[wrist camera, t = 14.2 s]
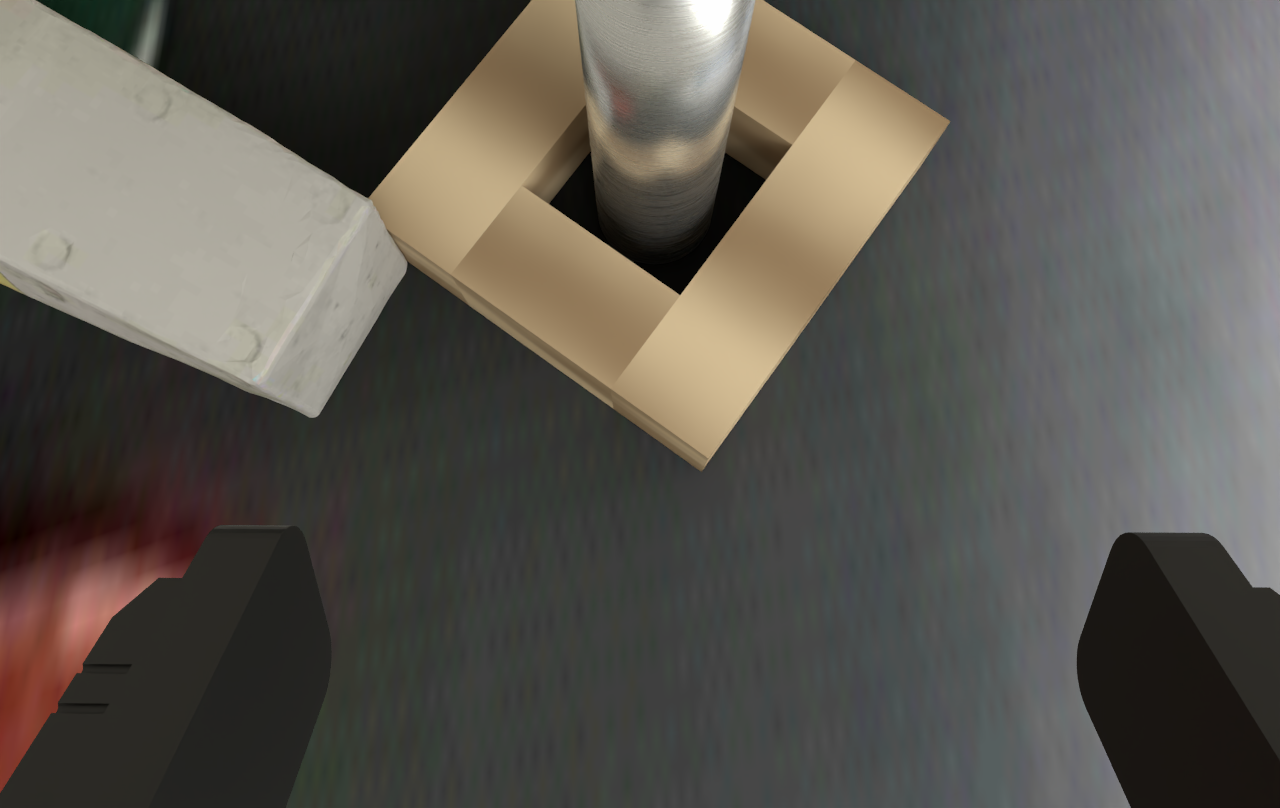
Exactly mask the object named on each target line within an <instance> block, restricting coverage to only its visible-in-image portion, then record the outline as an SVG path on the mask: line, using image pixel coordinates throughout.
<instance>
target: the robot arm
mask: <svg viewBox="0 0 1280 808" xmlns="http://www.w3.org/2000/svg"><path fill="white" fill-rule="evenodd" d="M330 669H331V638H330V632H329V628H328V624H327V620H326V616H325V612H324V609H323V605H322V601H321V597H320V593H319V589H318V586H317V582H316V578H315V574H314V570H313V566H312V563H311V559H310V555H309V551H308V547H307V544H306V540H305V537H304V535H303V533H302V531H301V530H300V529H299V528H298V527H296V526H270V525H221V526H217V527H215V528H214V529H213V530H212V531H211V532H210V533H209V534H208V535H207V537H206V538H205V540H204V542H203V543H202V545H201V547H200V549H199V550H198V552H197V554H196V555H195V557H194V559H193V561H192V562H191V564H190V566H189V568H188V569H187V571H186V573H185V574H184V576H183V578H158V579H157V580H156V581H155V582H153V583H152V584H151V585H150V586H149V587H148V588H146V589H145V590H144V591H143V592H142V593H140V594H139V595H138V596H137V597H136V598H135V599H133V600H132V601H131V602H130V603H129V604H127V605H126V606H125V607H124V608H123V609H122V610H120V611H119V612H118V613H117V614H116V615H115V616H113V617H112V619H111V620H110V622H109V623H108V625H107V626H106V628H105V630H104V631H103V633H102V634H101V636H100V637H99V639H98V641H97V642H96V644H95V645H94V647H93V648H92V650H91V652H90V653H89V655H88V656H87V658H86V659H85V661H84V663H83V671H82V673H77V674H76V675H75V677H74V678H73V680H72V681H71V683H70V685H69V686H68V688H67V689H66V691H65V692H64V694H63V696H62V697H61V699H60V700H59V702H58V710H57V712H56V713H51V714H50V716H49V718H48V719H47V721H46V722H45V724H44V725H43V727H42V729H41V730H40V732H39V733H38V735H37V736H36V738H35V740H34V741H33V743H32V744H31V746H30V747H29V749H28V751H27V752H26V754H25V755H24V757H23V758H22V760H21V762H20V763H19V765H18V766H17V768H16V769H15V771H14V773H13V774H12V776H11V777H10V779H9V780H8V782H7V784H6V785H5V787H4V788H3V790H2V791H1V793H0V808H286V805H287V802H288V799H289V796H290V794H291V791H292V788H293V785H294V782H295V779H296V777H297V774H298V771H299V768H300V765H301V763H302V760H303V757H304V754H305V751H306V749H307V746H308V743H309V740H310V737H311V734H312V732H313V729H314V726H315V723H316V720H317V718H318V715H319V712H320V709H321V706H322V704H323V701H324V698H325V695H326V691H327V687H328V683H329V677H330ZM1077 675H1078V682H1079V687H1080V692H1081V695H1082V698H1083V702H1084V704H1085V707H1086V709H1087V711H1088V713H1089V716H1090V718H1091V720H1092V722H1093V724H1094V727H1095V729H1096V731H1097V733H1098V736H1099V738H1100V740H1101V742H1102V744H1103V747H1104V749H1105V751H1106V753H1107V756H1108V758H1109V760H1110V762H1111V764H1112V767H1113V769H1114V771H1115V773H1116V775H1117V778H1118V780H1119V782H1120V784H1121V787H1122V789H1123V791H1124V793H1125V795H1126V798H1127V800H1128V802H1129V804H1130V806H1131V808H1280V595H1279V594H1278V593H1276V592H1275V591H1274V590H1272V589H1271V588H1253V587H1252V586H1251V585H1250V583H1249V582H1248V580H1247V579H1246V578H1245V576H1244V575H1243V573H1242V572H1241V571H1240V569H1239V568H1238V566H1237V565H1236V564H1235V562H1234V561H1233V560H1232V558H1231V557H1230V555H1229V554H1228V553H1227V551H1226V550H1225V548H1224V547H1223V546H1222V545H1221V543H1220V542H1219V541H1218V540H1217V539H1215V538H1214V537H1213V536H1211V535H1209V534H1205V533H1124V534H1122V535H1120V536H1119V537H1118V538H1117V539H1116V541H1115V542H1114V544H1113V546H1112V548H1111V551H1110V554H1109V557H1108V559H1107V562H1106V565H1105V568H1104V571H1103V574H1102V577H1101V579H1100V582H1099V585H1098V588H1097V591H1096V594H1095V597H1094V599H1093V602H1092V605H1091V608H1090V611H1089V614H1088V617H1087V619H1086V622H1085V625H1084V628H1083V631H1082V634H1081V637H1080V640H1079V644H1078V650H1077Z"/></svg>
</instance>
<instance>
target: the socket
mask: <svg viewBox="0 0 1280 808" xmlns="http://www.w3.org/2000/svg"><path fill="white" fill-rule="evenodd" d="M949 123H950V121H949V120H947V119H946V118H944V117H943V116H941V115H940V114H938V113H936V112H935V111H933V110H932V109H930V108H929V107H927V106H926V105H924V104H923V103H921V102H919V101H918V100H916V99H915V98H913V97H912V96H910V95H909V94H907V93H906V92H904V91H902V90H901V89H899V88H898V87H896V86H895V85H893V84H892V83H890V82H889V81H887V80H885V79H884V78H882V77H881V76H879V75H878V74H876V73H875V72H873V71H871V70H870V69H868V68H867V67H865V66H864V65H862V64H861V63H859V62H858V61H856V60H854V59H853V58H851V57H850V56H848V55H847V54H845V53H844V52H842V51H841V50H839V49H837V48H836V47H834V46H833V45H831V44H830V43H828V42H827V41H825V40H824V39H822V38H820V37H819V36H817V35H816V34H814V33H813V32H811V31H810V30H808V29H806V28H805V27H803V26H802V25H800V24H799V23H797V22H796V21H794V20H793V19H791V18H789V17H788V16H786V15H785V14H783V13H782V12H780V11H779V10H777V9H776V8H774V7H772V6H771V5H769V4H768V3H766V2H765V1H763V0H755V5H754V10H753V15H752V20H751V25H750V30H749V35H748V40H747V45H746V50H745V55H744V60H743V65H742V69H741V74H740V79H739V84H738V89H737V94H736V99H735V104H734V109H733V114H732V119H731V124H730V129H729V134H728V139H727V144H726V149H725V153H727V154H728V155H730V156H731V157H733V158H734V159H736V160H737V161H739V162H740V163H742V164H743V165H745V166H746V167H748V168H749V169H750V170H752V171H753V172H755V173H756V174H758V175H759V176H761V177H762V178H764V179H765V180H766V181H765V182H764V184H763V185H762V186H761V188H760V189H759V190H758V192H757V193H756V194H755V196H754V197H753V199H752V200H751V201H750V203H749V204H748V205H747V207H746V208H745V209H744V211H743V212H742V213H741V215H740V216H739V217H738V219H737V220H736V221H735V223H734V224H733V225H732V227H731V228H730V229H729V231H728V232H727V233H726V235H725V236H724V237H723V239H722V240H721V241H720V243H719V244H718V245H717V247H716V248H715V249H714V251H713V252H712V253H711V255H710V256H709V257H708V259H707V260H706V262H705V263H704V264H703V266H702V267H701V268H700V270H699V271H698V272H697V274H696V275H695V276H694V278H693V279H692V280H691V282H690V283H689V284H688V286H687V287H686V288H685V290H684V291H683V292H682V294H681V295H679V294H678V293H676V292H675V291H673V290H672V289H670V288H669V287H668V286H666V285H665V284H663V283H662V282H660V281H659V280H657V279H656V278H655V277H653V276H652V275H650V274H649V273H647V272H646V271H644V270H643V269H642V268H640V267H639V266H637V265H636V264H634V263H633V262H631V261H630V260H629V259H627V258H626V257H624V256H623V255H621V254H620V253H619V252H617V251H616V250H614V249H613V248H611V247H610V246H608V245H607V244H606V243H604V242H603V241H601V240H600V239H598V238H597V237H595V236H594V235H593V234H591V233H590V232H588V231H587V230H585V229H584V228H582V227H581V226H580V225H578V224H577V223H575V222H574V221H572V220H571V219H570V218H568V217H567V216H565V215H564V214H562V213H561V212H559V211H558V210H557V209H555V208H554V207H552V206H551V205H549V203H550V202H551V201H552V199H553V198H554V197H555V196H556V194H557V193H558V192H559V191H560V189H561V188H562V187H563V185H564V184H565V183H566V182H567V180H568V179H569V178H570V177H571V175H572V174H573V173H574V171H575V170H576V169H577V168H578V166H579V165H580V164H581V163H582V161H583V160H584V159H585V158H586V156H587V155H588V154H589V152H590V151H591V147H590V138H589V128H588V119H587V109H586V100H585V90H584V81H583V71H582V62H581V52H580V43H579V33H578V24H577V14H576V5H575V0H531V2H530V3H529V4H528V5H527V7H526V8H525V9H524V10H523V11H522V13H521V14H520V15H519V16H518V17H517V19H516V20H515V21H514V22H513V23H512V25H511V26H510V27H509V28H508V30H507V31H506V32H505V33H504V34H503V36H502V37H501V38H500V39H499V40H498V42H497V43H496V44H495V45H494V47H493V48H492V49H491V50H490V51H489V53H488V54H487V55H486V56H485V57H484V59H483V60H482V61H481V62H480V64H479V65H478V66H477V67H476V68H475V70H474V71H473V72H472V73H471V74H470V76H469V77H468V78H467V79H466V80H465V82H464V83H463V84H462V85H461V87H460V88H459V89H458V90H457V91H456V93H455V94H454V95H453V96H452V97H451V99H450V100H449V101H448V102H447V104H446V105H445V106H444V107H443V108H442V110H441V111H440V112H439V113H438V114H437V116H436V117H435V118H434V119H433V120H432V122H431V123H430V124H429V125H428V127H427V128H426V129H425V130H424V131H423V133H422V134H421V135H420V136H419V137H418V139H417V140H416V141H415V142H414V144H413V145H412V146H411V147H410V148H409V150H408V151H407V152H406V153H405V154H404V156H403V157H402V158H401V159H400V160H399V162H398V163H397V164H396V165H395V167H394V168H393V169H392V170H391V171H390V173H389V174H388V175H387V176H386V177H385V179H384V180H383V181H382V182H381V184H380V185H379V186H378V187H377V188H376V190H375V191H374V192H373V193H372V194H371V196H370V197H369V198H368V199H370V200H372V202H373V205H374V206H375V207H376V210H377V211H378V212H379V215H380V218H381V219H382V221H383V222H384V224H385V227H386V229H387V231H388V233H389V234H390V236H391V237H392V239H393V240H394V242H395V244H396V245H397V247H398V248H399V250H400V251H401V252H402V254H403V255H404V257H405V259H406V261H408V262H409V263H410V264H412V265H413V266H415V267H416V268H417V269H419V270H420V271H422V272H423V273H424V274H426V275H427V276H429V277H430V278H431V279H433V280H434V281H436V282H437V283H438V284H440V285H441V286H443V287H444V288H445V289H447V290H448V291H450V292H451V293H452V294H454V295H455V296H457V297H458V298H459V299H461V300H462V301H464V302H465V303H466V304H468V305H469V306H471V307H472V308H473V309H475V310H476V311H477V312H479V313H480V314H482V315H483V316H484V317H486V318H487V319H489V320H490V321H491V322H493V323H494V324H496V325H497V326H498V327H500V328H501V329H503V330H504V331H505V332H507V333H508V334H510V335H511V336H512V337H514V338H515V339H517V340H518V341H519V342H521V343H522V344H524V345H525V346H526V347H528V348H529V349H531V350H532V351H533V352H535V353H536V354H538V355H539V356H540V357H542V358H543V359H545V360H546V361H547V362H549V363H550V364H552V365H553V366H554V367H556V368H557V369H559V370H560V371H561V372H563V373H564V374H565V375H567V376H568V377H570V378H571V379H572V380H574V381H575V382H577V383H578V384H579V385H581V386H582V387H584V388H585V389H586V390H588V391H589V392H591V393H592V394H593V395H595V396H596V397H598V398H599V399H600V400H602V401H603V402H605V403H606V404H607V405H609V406H610V407H612V408H613V409H614V410H616V411H617V412H619V413H620V414H621V415H623V416H624V417H626V418H627V419H628V420H630V421H631V422H633V423H634V424H635V425H637V426H638V427H640V428H641V429H642V430H644V431H645V432H647V433H648V434H649V435H651V436H652V437H653V438H655V439H656V440H658V441H659V442H660V443H662V444H663V445H665V446H666V447H667V448H669V449H670V450H672V451H673V452H674V453H676V454H677V455H679V456H680V457H681V458H683V459H684V460H686V461H687V462H688V463H690V464H691V465H693V466H694V467H695V468H697V469H698V470H700V471H701V472H702V470H703V469H704V468H705V466H706V465H707V463H708V462H709V461H710V459H711V458H712V456H713V455H714V454H715V452H716V451H717V449H718V448H719V447H720V445H721V444H722V442H723V441H724V440H725V438H726V437H727V435H728V434H729V433H730V431H731V430H732V428H733V427H734V426H735V424H736V423H737V422H738V420H739V419H740V417H741V416H742V415H743V413H744V412H745V410H746V409H747V408H748V406H749V405H750V403H751V402H752V401H753V399H754V398H755V396H756V395H757V394H758V392H759V391H760V389H761V388H762V387H763V385H764V384H765V382H766V381H767V380H768V378H769V377H770V375H771V374H772V373H773V371H774V370H775V368H776V367H777V366H778V364H779V363H780V361H781V360H782V359H783V357H784V356H785V355H786V353H787V352H788V350H789V349H790V348H791V346H792V345H793V343H794V342H795V341H796V339H797V338H798V336H799V335H800V334H801V332H802V331H803V329H804V328H805V327H806V325H807V324H808V322H809V321H810V320H811V318H812V317H813V315H814V314H815V313H816V311H817V310H818V308H819V307H820V306H821V304H822V303H823V301H824V300H825V299H826V297H827V296H828V294H829V293H830V292H831V290H832V289H833V288H834V286H835V285H836V283H837V282H838V281H839V279H840V278H841V276H842V275H843V274H844V272H845V271H846V269H847V268H848V267H849V265H850V264H851V262H852V261H853V260H854V258H855V257H856V255H857V254H858V253H859V251H860V250H861V248H862V247H863V246H864V244H865V243H866V241H867V240H868V239H869V237H870V236H871V234H872V233H873V232H874V230H875V229H876V227H877V226H878V225H879V223H880V222H881V221H882V219H883V218H884V216H885V215H886V214H887V212H888V211H889V209H890V208H891V207H892V205H893V204H894V202H895V201H896V200H897V198H898V197H899V195H900V194H901V193H902V191H903V190H904V188H905V187H906V186H907V184H908V183H909V181H910V180H911V179H912V177H913V176H914V174H915V173H916V172H917V170H918V169H919V167H920V166H921V165H922V163H923V162H924V160H925V159H926V157H927V156H928V154H929V153H930V151H931V150H932V148H933V147H934V145H935V144H936V142H937V141H938V139H939V138H940V136H941V135H942V133H943V132H944V130H945V129H946V127H947V126H948V124H949Z"/></svg>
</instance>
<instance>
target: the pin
mask: <svg viewBox="0 0 1280 808" xmlns="http://www.w3.org/2000/svg"><path fill="white" fill-rule="evenodd" d="M575 5H576V14H577V24H578V33H579V43H580V52H581V62H582V71H583V81H584V90H585V100H586V109H587V119H588V128H589V138H590V147H591V157H592V166H593V176H594V185H595V195H596V204H597V214H598V221H599V225H600V228H601V230H602V233H603V234H604V236H605V238H606V239H607V241H608V242H609V243H610V245H611V246H612V247H613V248H614V249H615V250H616V251H618V252H619V253H620V254H622V255H623V256H625V257H627V258H629V259H631V260H633V261H636V262H640V263H644V264H655V265H657V264H666V263H670V262H674V261H676V260H679V259H681V258H683V257H685V256H687V255H688V254H689V253H691V252H692V251H693V250H694V249H696V248H697V247H698V245H699V244H700V243H701V242H702V240H703V239H704V237H705V236H706V234H707V232H708V229H709V226H710V223H711V219H712V214H713V209H714V204H715V199H716V194H717V189H718V184H719V179H720V174H721V169H722V164H723V159H724V154H725V149H726V144H727V139H728V134H729V129H730V124H731V119H732V114H733V109H734V104H735V99H736V94H737V89H738V84H739V79H740V74H741V69H742V65H743V60H744V55H745V50H746V45H747V40H748V35H749V30H750V25H751V20H752V15H753V10H754V5H755V0H575Z"/></svg>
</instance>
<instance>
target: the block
mask: <svg viewBox="0 0 1280 808" xmlns="http://www.w3.org/2000/svg"><path fill="white" fill-rule="evenodd" d="M406 269H407V261H406V259H405V257H404V255H403V254H402V252H401V251H400V250H399V248H398V247H397V245H396V244H395V242H394V240H393V239H392V237H391V236H390V234H389V233H388V231H387V229H386V227H385V224H384V222H383V221H382V219H381V218H380V215H379V212H378V211H377V210H376V207H375V206H374V205H373V202H372V200H370V199H368V198H366V197H364V196H363V195H361V194H359V193H357V192H356V191H353V190H351V189H349V188H348V187H346V186H345V185H343V184H342V183H340V182H339V181H338V180H336V179H335V178H334V177H332V176H331V175H329V174H327V173H325V172H323V171H322V170H320V169H318V168H317V167H315V166H314V165H312V164H310V163H308V162H307V161H305V160H304V159H303V158H301V157H300V156H298V155H297V154H295V153H293V152H292V151H290V150H289V149H287V148H285V147H284V146H282V145H281V144H279V143H277V142H276V141H275V140H273V139H272V138H271V137H269V136H267V135H266V134H264V133H262V132H261V131H259V130H258V129H256V128H254V127H253V126H251V125H249V124H248V123H246V122H243V121H242V120H240V119H238V118H237V117H235V116H234V115H232V114H230V113H228V112H227V111H225V110H223V109H222V108H220V107H218V106H217V105H215V104H213V103H212V102H210V101H208V100H206V99H205V98H203V97H201V96H199V95H198V94H196V93H194V92H192V91H191V90H189V89H187V88H186V87H184V86H183V85H181V84H179V83H178V82H176V81H174V80H173V79H171V78H169V77H167V76H166V75H164V74H163V73H161V72H159V71H158V70H156V69H155V68H153V67H151V66H150V65H148V64H146V63H145V62H143V61H141V60H139V59H138V58H136V57H134V56H132V55H131V54H129V53H127V52H126V51H124V50H122V49H121V48H119V47H117V46H115V45H114V44H112V43H110V42H108V41H106V40H105V39H103V38H101V37H99V36H98V35H96V34H95V33H93V32H91V31H89V30H87V29H85V28H83V27H81V26H79V25H77V24H76V23H74V22H72V21H71V20H69V19H67V18H65V17H64V16H62V15H60V14H58V13H57V12H55V11H53V10H51V9H50V8H48V7H46V6H45V5H43V4H41V3H39V2H38V1H36V0H0V283H1V284H3V285H5V286H7V287H9V288H12V289H14V290H16V291H18V292H20V293H23V294H25V295H27V296H29V297H31V298H34V299H36V300H38V301H40V302H43V303H45V304H47V305H49V306H52V307H54V308H56V309H58V310H61V311H63V312H65V313H67V314H70V315H72V316H74V317H77V318H79V319H81V320H83V321H86V322H88V323H90V324H92V325H95V326H97V327H99V328H101V329H103V330H106V331H108V332H110V333H112V334H114V335H117V336H119V337H121V338H123V339H125V340H127V341H130V342H132V343H135V344H138V345H140V346H143V347H145V348H148V349H150V350H153V351H155V352H158V353H160V354H163V355H166V356H168V357H171V358H173V359H176V360H178V361H181V362H183V363H185V364H188V365H190V366H192V367H195V368H197V369H199V370H202V371H204V372H206V373H208V374H211V375H213V376H215V377H218V378H220V379H222V380H224V381H226V382H228V383H230V384H232V385H234V386H236V387H238V388H240V389H242V390H245V391H247V392H250V393H253V394H256V395H259V396H263V397H266V398H268V399H271V400H273V401H275V402H278V403H280V404H283V405H285V406H288V407H290V408H292V409H294V410H297V411H299V412H301V413H302V414H304V415H306V416H308V417H316V416H318V415H319V414H320V412H321V411H322V409H323V407H324V406H325V404H326V402H327V401H328V399H329V397H330V396H331V394H332V392H333V391H334V389H335V387H336V386H337V384H338V383H339V381H340V379H341V378H342V376H343V374H344V373H345V371H346V369H347V368H348V366H349V364H350V363H351V361H352V359H353V358H354V356H355V355H356V353H357V351H358V350H359V348H360V346H361V345H362V343H363V341H364V340H365V338H366V336H367V335H368V333H369V332H370V330H371V328H372V327H373V325H374V323H375V322H376V320H377V318H378V317H379V315H380V313H381V311H382V309H383V308H384V306H385V304H386V302H387V301H388V299H389V297H390V296H391V294H392V293H393V291H394V290H395V288H396V287H397V285H398V284H399V282H400V281H401V279H402V278H403V276H404V275H405V273H406Z"/></svg>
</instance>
